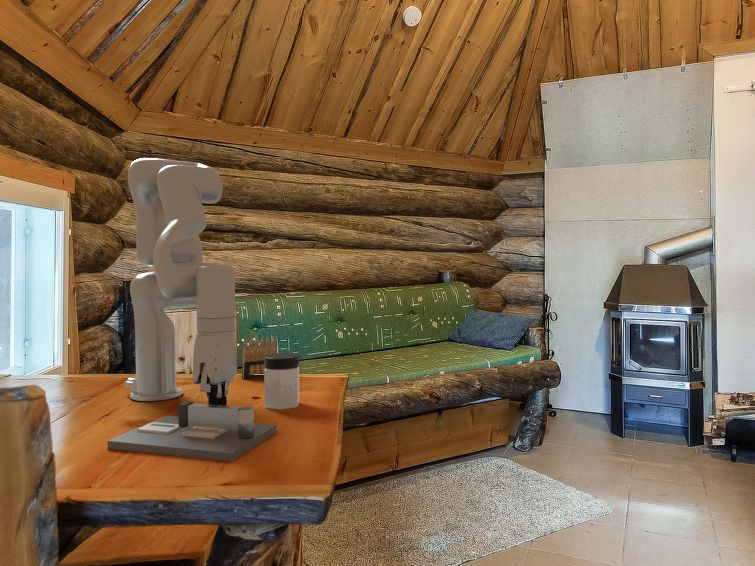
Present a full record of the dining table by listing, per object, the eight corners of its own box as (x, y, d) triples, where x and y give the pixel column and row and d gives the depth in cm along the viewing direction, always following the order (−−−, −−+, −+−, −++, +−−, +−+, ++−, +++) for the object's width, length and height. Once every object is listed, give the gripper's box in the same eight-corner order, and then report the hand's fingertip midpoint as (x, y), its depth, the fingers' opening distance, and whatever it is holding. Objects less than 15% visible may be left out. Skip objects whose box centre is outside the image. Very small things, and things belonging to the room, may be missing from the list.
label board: (107, 448, 113) (107, 437, 112) (166, 422, 130) (166, 412, 130) (231, 461, 105) (231, 449, 105) (276, 432, 123) (276, 421, 123)
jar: (271, 411, 138) (271, 360, 138) (258, 404, 145) (257, 355, 144) (306, 406, 143) (306, 356, 143) (291, 399, 150) (291, 351, 149)
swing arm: (178, 432, 117) (178, 404, 117) (187, 427, 120) (186, 400, 119) (249, 438, 113) (249, 410, 112) (256, 433, 116) (256, 406, 115)
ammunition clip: (243, 380, 173) (243, 338, 172) (241, 378, 174) (241, 337, 174) (278, 375, 179) (278, 335, 178) (275, 374, 180) (275, 335, 180)
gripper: (218, 321, 129) (220, 405, 130) (178, 329, 114) (180, 424, 115) (250, 322, 127) (251, 408, 128) (213, 331, 112) (214, 427, 113)
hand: (217, 415), depth 121 cm, fingers closed
